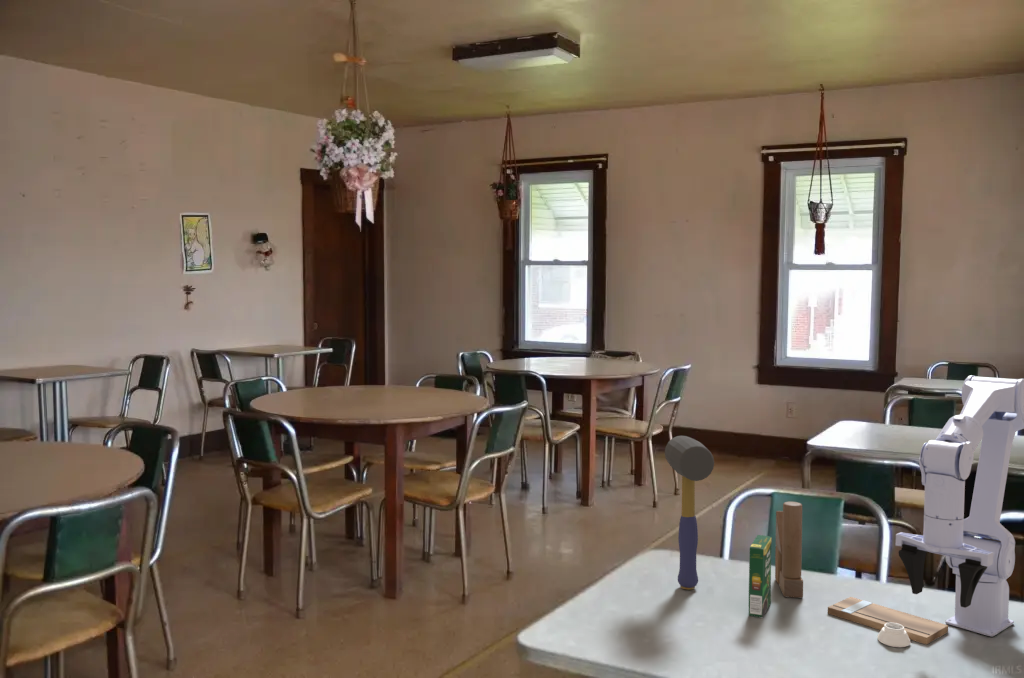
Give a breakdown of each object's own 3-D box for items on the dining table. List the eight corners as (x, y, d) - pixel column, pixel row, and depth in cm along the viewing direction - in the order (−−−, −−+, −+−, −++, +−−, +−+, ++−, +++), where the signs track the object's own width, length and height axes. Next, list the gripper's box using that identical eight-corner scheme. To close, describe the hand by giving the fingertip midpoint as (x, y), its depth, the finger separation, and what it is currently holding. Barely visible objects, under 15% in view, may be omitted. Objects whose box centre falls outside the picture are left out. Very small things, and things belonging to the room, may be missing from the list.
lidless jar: (876, 635, 149) (879, 647, 144) (876, 618, 149) (879, 630, 144) (907, 638, 148) (912, 650, 143) (908, 622, 147) (912, 633, 143)
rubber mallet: (661, 578, 178) (662, 433, 176) (697, 577, 179) (698, 432, 177) (677, 600, 166) (678, 445, 164) (716, 598, 166) (717, 444, 164)
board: (850, 602, 164) (850, 596, 164) (948, 632, 150) (948, 624, 150) (827, 613, 159) (827, 606, 159) (926, 644, 145) (926, 637, 145)
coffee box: (763, 619, 156) (764, 547, 155) (747, 616, 157) (748, 545, 157) (771, 604, 163) (772, 535, 162) (756, 601, 165) (757, 533, 164)
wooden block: (793, 579, 177) (794, 492, 176) (803, 598, 166) (804, 506, 165) (774, 579, 177) (775, 492, 176) (783, 598, 167) (784, 505, 165)
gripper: (887, 510, 142) (884, 592, 143) (980, 529, 131) (977, 618, 131) (908, 504, 146) (905, 583, 147) (1000, 521, 135) (996, 607, 136)
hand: (940, 599), depth 139 cm, fingers open, 7 cm apart
